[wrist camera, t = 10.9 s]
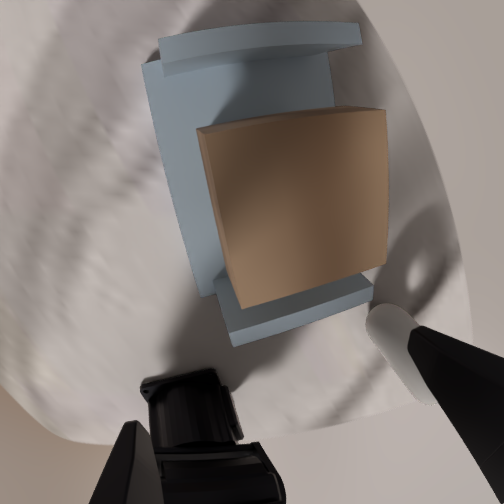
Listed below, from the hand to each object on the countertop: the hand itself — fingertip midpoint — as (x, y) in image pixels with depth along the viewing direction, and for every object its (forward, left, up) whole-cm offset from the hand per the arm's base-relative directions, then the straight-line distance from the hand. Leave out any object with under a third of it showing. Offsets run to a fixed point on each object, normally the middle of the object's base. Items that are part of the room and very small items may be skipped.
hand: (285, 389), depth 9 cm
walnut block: (+3, +3, -7) cm, 8 cm away
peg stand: (+3, +3, -12) cm, 13 cm away
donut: (+12, -12, -12) cm, 21 cm away
